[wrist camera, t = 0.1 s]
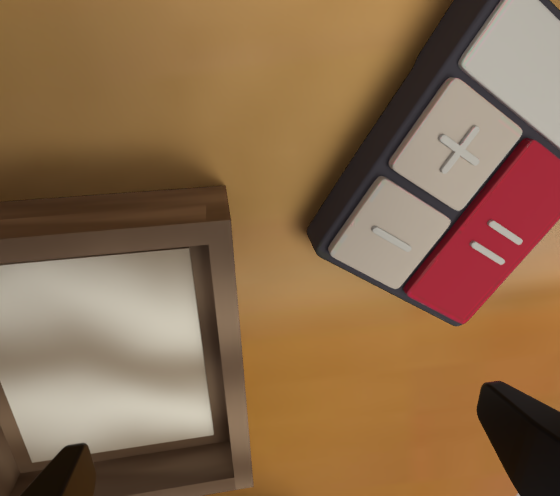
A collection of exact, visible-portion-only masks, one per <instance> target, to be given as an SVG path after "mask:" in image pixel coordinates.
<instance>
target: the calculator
mask: <svg viewBox="0 0 560 496" xmlns="http://www.w3.org/2000/svg"><path fill="white" fill-rule="evenodd" d="M559 219H560V10H559V9H558V8H557V7H556V6H555V5H554V4H553V3H552V2H551V1H550V0H454V1H453V2H452V4H451V6H450V7H449V9H448V10H447V12H446V13H445V15H444V16H443V18H442V20H441V21H440V23H439V24H438V26H437V27H436V29H435V30H434V32H433V34H432V35H431V37H430V38H429V40H428V41H427V43H426V44H425V46H424V48H423V49H422V51H421V52H420V54H419V55H418V57H417V60H416V62H415V65H414V67H413V69H412V70H411V72H410V73H409V75H408V76H407V78H406V79H405V81H404V82H403V84H402V85H401V87H400V88H399V90H398V91H397V93H396V94H395V96H394V97H393V99H392V100H391V102H390V103H389V105H388V106H387V108H386V109H385V110H384V112H383V113H382V115H381V116H380V118H379V119H378V121H377V122H376V124H375V125H374V127H373V128H372V130H371V131H370V133H369V134H368V136H367V137H366V139H365V140H364V142H363V143H362V145H361V146H360V148H359V149H358V151H357V152H356V154H355V155H354V157H353V158H352V160H351V161H350V163H349V164H348V166H347V168H346V169H345V171H344V172H343V174H342V175H341V177H340V178H339V180H338V182H337V183H336V185H335V186H334V188H333V189H332V191H331V192H330V194H329V195H328V197H327V199H326V200H325V202H324V203H323V205H322V206H321V208H320V209H319V211H318V213H317V214H316V216H315V217H314V219H313V220H312V222H311V223H310V225H309V227H308V229H307V235H308V237H309V239H310V241H311V243H312V246H313V248H314V250H315V252H316V254H317V255H318V256H319V257H321V258H323V259H325V260H327V261H329V262H331V263H333V264H335V265H336V266H338V267H340V268H342V269H344V270H346V271H348V272H350V273H352V274H354V275H356V276H358V277H360V278H362V279H364V280H366V281H368V282H369V283H371V284H373V285H375V286H377V287H379V288H381V289H383V290H385V291H387V292H389V293H391V294H393V295H395V296H397V297H399V298H401V299H402V300H404V301H406V302H408V303H410V304H412V305H414V306H416V307H418V308H420V309H422V310H424V311H426V312H428V313H430V314H432V315H434V316H435V317H437V318H439V319H441V320H443V321H445V322H447V323H449V324H451V325H453V326H460V325H462V324H465V323H466V322H467V321H468V320H469V319H470V318H471V317H472V316H473V315H474V314H475V313H476V312H477V310H478V309H479V308H480V307H481V306H482V305H483V304H484V303H485V302H486V300H487V299H488V298H489V297H490V296H491V295H492V294H493V293H494V292H495V290H496V289H497V288H498V287H499V286H500V285H501V284H502V283H503V282H504V280H505V279H506V278H507V277H508V276H509V275H510V274H511V273H512V272H513V270H514V269H515V268H516V267H517V266H518V265H519V264H520V263H521V262H522V260H523V259H524V258H525V257H526V256H527V255H528V254H529V253H530V252H531V251H532V249H533V248H534V247H535V246H536V245H537V244H538V243H539V242H540V241H541V239H542V238H543V237H544V236H545V235H546V234H547V233H548V232H549V231H550V229H551V228H552V227H553V226H554V225H555V224H556V223H557V222H558V221H559Z"/></svg>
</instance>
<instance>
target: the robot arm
mask: <svg viewBox="0 0 560 496" xmlns="http://www.w3.org/2000/svg"><path fill="white" fill-rule="evenodd" d="M477 415H478V418H479V421H480V422H481V424H482V426H483V428H484V430H485V432H486V434H487V436H488V438H489V440H490V442H491V444H492V446H493V447H494V449H495V451H496V453H497V455H498V457H499V459H500V461H501V463H502V465H503V467H504V469H505V471H506V472H507V474H508V476H509V478H510V480H511V481H512V483H513V485H514V486H515V488H516V490H517V491H518V493H519V495H520V496H560V412H559V411H557V410H555V409H553V408H552V407H550V406H548V405H546V404H544V403H542V402H540V401H538V400H536V399H534V398H532V397H531V396H529V395H527V394H525V393H523V392H521V391H519V390H517V389H515V388H513V387H512V386H510V385H508V384H506V383H504V382H501V381H494V382H487V383H484V384H483V385H482V387H481V390H480V395H479V400H478V404H477ZM95 483H96V469H95V466H94V462H93V459H92V456H91V453H90V449H89V447H88V445H87V444H86V443H77V444H71V445H67V446H65V447H64V448H62V449H61V450H60V452H59V453H58V454H57V455H56V456H55V457H54V458H53V459H52V460H51V461H50V463H49V464H48V465H47V466H46V467H45V468H44V469H43V470H42V471H41V472H40V474H39V475H38V476H37V477H36V478H35V479H34V480H33V481H32V482H31V483H30V485H29V486H28V487H27V488H26V489H25V490H24V491H23V492H22V493H21V494H20V496H94V490H95Z"/></svg>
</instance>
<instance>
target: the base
mask: <svg viewBox="0 0 560 496" xmlns="http://www.w3.org/2000/svg"><path fill="white" fill-rule="evenodd" d="M77 443H86V444H87V445H88V447H89V449H90V453H91V456H92V459H93V462H94V466H95V469H96V483H95V490H94V496H203V495H209V494H215V493H220V492H226V491H232V490H238V489H244V488H249V487H253V475H252V463H251V451H250V440H249V428H248V416H247V404H246V393H245V381H244V369H243V358H242V346H241V334H240V322H239V311H238V299H237V287H236V276H235V264H234V252H233V240H232V229H231V218H230V212H229V205H228V199H227V192H226V186H212V187H199V188H185V189H171V190H157V191H143V192H129V193H116V194H102V195H88V196H74V197H60V198H46V199H33V200H19V201H5V202H0V496H20V494H21V493H22V492H23V491H24V490H25V489H26V488H27V487H28V486H29V485H30V483H31V482H32V481H33V480H34V479H35V478H36V477H37V476H38V475H39V474H40V472H41V471H42V470H43V469H44V468H45V467H46V466H47V465H48V464H49V463H50V461H51V460H52V459H53V458H54V457H55V456H56V455H57V454H58V453H59V452H60V450H61V449H62V448H64V447H65V446H67V445H71V444H77Z"/></svg>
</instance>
